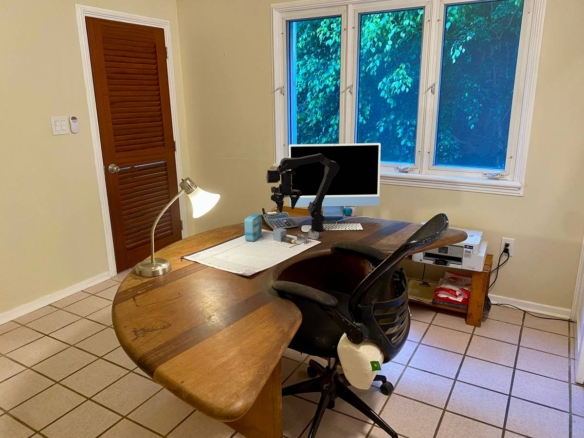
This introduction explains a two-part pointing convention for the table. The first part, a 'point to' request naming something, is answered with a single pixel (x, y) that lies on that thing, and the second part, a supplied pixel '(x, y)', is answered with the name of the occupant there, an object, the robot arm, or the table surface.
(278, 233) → the plug
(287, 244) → the mat
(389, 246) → the table surface
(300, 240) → the housing
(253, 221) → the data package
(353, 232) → the table surface
